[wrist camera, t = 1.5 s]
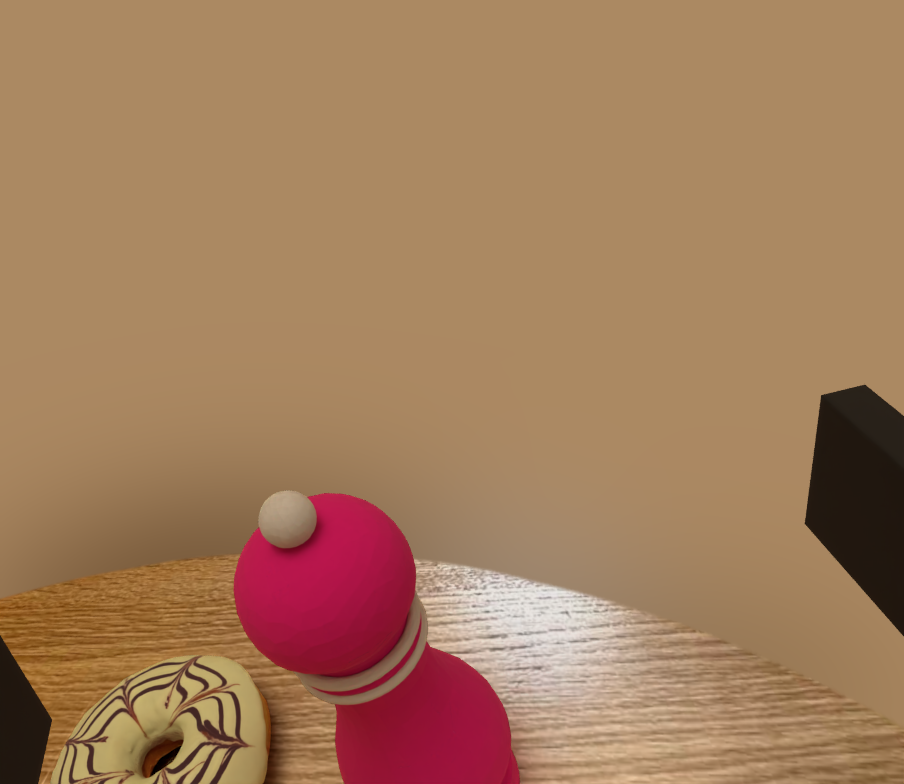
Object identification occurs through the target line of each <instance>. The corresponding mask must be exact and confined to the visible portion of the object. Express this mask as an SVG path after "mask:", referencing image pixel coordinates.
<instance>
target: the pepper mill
mask: <svg viewBox="0 0 904 784" xmlns="http://www.w3.org/2000/svg"><path fill="white" fill-rule="evenodd" d="M258 523H259V528H258V529H257V530H256V531H255V532H254V533H253V535H252V536H251V538H250V539H249V541H248V542H247V544H246V545H245V546H244V549H243V551H242V553H241V556H240V558H239V561H238V564H237V568H236V572H235V577H234V596H235V603H236V609H237V614H238V616H239V619H240V621H241V623H242V626H243V628H244V631H245V632H246V634H247V636H248V637H249V639H250V640H251V641H252V643H253V644H254V645H255V647H256V648H257V649H258V650H259V651H260V652H261V653H262V654H263V655H265V656H266V657H267V658H269V659H270V660H271V661H272V662H274V663H275V664H276V665H278V666H280V667H282V668H285V669H287V670H290V671H293V672H294V673H295V674H296V675H297V676H298V677H299V679H300V681H301V682H302V684H303V685H304V687H305V688H306V689H307V690H308V691H309V692H310V693H311V694H313V695H314V696H315V697H317V698H319V699H321V700H323V701H326V702H328V703H331V704H335V706H336V711H337V721H336V736H335V745H336V752H337V758H338V764H339V769H340V772H341V775H342V779H343V781H344V783H345V784H520V777H519V770H518V765H517V762H516V759H515V756H514V754H513V752H512V750H511V733H510V727H509V722H508V718H507V714H506V712H505V709H504V707H503V704H502V703H501V701H500V699H499V698H498V696H497V694H496V693H495V691H494V690H493V689H492V687H491V686H490V684H489V683H488V681H487V680H486V679H485V678H484V677H483V676H482V675H480V674H479V673H478V672H477V671H476V670H475V669H474V668H473V667H471V666H470V665H468V664H467V663H465V662H464V661H463V660H461V659H460V658H458V657H455V656H453V655H450V654H448V653H446V652H443V651H440V650H438V649H435V648H432V647H430V646H429V644H428V643H427V641H426V640H427V635H428V621H427V615H426V611H425V609H424V606H423V604H422V602H421V601H420V599H419V598H418V595H417V593H416V590H415V584H416V567H415V563H414V559H413V555H412V552H411V549H410V547H409V544H408V542H407V540H406V539H405V536H404V535H403V533H402V532H401V531H400V529H399V528H398V527H397V525H396V524H395V523H394V521H393V520H391V519H390V518H389V517H388V516H387V515H386V514H385V513H384V512H383V511H382V510H380V509H379V508H378V507H376V506H374V505H373V504H371V503H369V502H367V501H366V500H363V499H360V498H356V497H353V496H350V495H345V494H332V493H331V494H330V493H324V494H319V495H314V496H309V497H306V496H304V495H303V494H301V493H299V492H296V491H288V490H287V491H282V492H278V493H275V494H274V495H272V496H270V497H269V498H268V499H267V500H266V501H265V502H264V504H263V506H262V508H261V510H260V514H259V518H258Z"/></svg>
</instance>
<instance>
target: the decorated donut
mask: <svg viewBox="0 0 904 784" xmlns="http://www.w3.org/2000/svg"><path fill="white" fill-rule="evenodd" d="M270 741H271V720H270V713H269V708H268V705H267V701H266V699H265V698H264V697H263V696H262V694H261V692H260V690H259V689H258V688H257V687H256V685H255V684H254V683H253V681H252V679H251V677H250V674H249V673H248V672H247V671H246V670H245V669H244V667H243V666H242V665H240V664H239V663H237V662H236V661H234V660H230V659H228V658H226V657H221V656H202V655H189V656H181V657H175V658H171V659H167V660H164V661H161V662H159V663H156V664H154V665H152V666H149V667H147V668H145V669H144V670H142V671H139V672H137V673H135V674H133V675H131V676H129V677H127V678H126V679H124V680H123V681H121V682H120V683H119V684H118V685H117V686H116V687H115V688H113V689H112V690H111V691H110V692H108V693H107V694H106V695H105V696H104V697H103V698H102V699H101V700H100V701H99V702H97V703H96V704H95V705H94V706H93V707H92V708H91V709H89V710H88V711H87V712H86V713H85V714H84V716H83V717H82V719H81V721H80V722H79V723H78V724H77V726H76V727H75V729H74V731H73V733H72V734H71V736H70V738H69V739H68V741H67V742H66V744H65V746H64V748H63V750H62V751H61V754H60V756H59V759H58V762H57V765H56V767H55V769H54V771H53V773H52V778H51V782H50V784H263V782H264V780H265V776H266V772H267V761H268V755H269V751H270V749H269V747H270ZM179 746H182V747H181V749H180V751H179V753H178V754H177V756H176V758H175V760H174V761H173V762H172V763H171V764H169V765H167V766H166V767H164V768H163V769H161V770H160V771H158V772H157V773H156V774H154V775H153V776H151V773H152V771H153V768H154V767H155V765H156V763H157V762H158V761H159V759H160V758H161V757H164V756H165V755H166V754H167V753H169V752H170V751H172V750H174V749H175V748H177V747H179Z"/></svg>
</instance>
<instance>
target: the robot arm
mask: <svg viewBox="0 0 904 784" xmlns="http://www.w3.org/2000/svg"><path fill="white" fill-rule="evenodd" d="M805 524H806V526H807V527H808V528H809V529H810V530H811V531H812V532H813V534H814V535H815V536H816V537H817V538H818V539H819V540H820V541H821V543H822V544H823V545H824V546H825V547H826V548H827V550H828V551H829V552H830V553H831V554H832V555H833V556H834V557H835V558H836V560H837V561H838V562H839V563H840V564H841V565H842V567H843V568H844V569H845V570H846V571H847V572H848V573H849V575H850V576H851V577H852V578H853V579H854V580H855V581H856V583H858V585H859V586H860V587H861V588H862V589H863V590H864V592H865V593H866V594H867V595H868V596H869V597H870V598H871V600H872V601H873V602H874V603H875V604H876V605H877V606H878V607H879V609H880V610H881V611H882V612H883V613H884V614H885V616H886V617H887V618H888V619H889V620H890V621H891V622H892V624H893V625H894V626H895V627H896V628H897V629H898V630H899V631H900V633H901V634H902V635H903V636H904V416H903V415H901V413H899V412H898V411H897V410H896V409H894V408H893V407H892V406H891V405H889V404H888V403H887V402H886V401H884V400H883V399H882V398H881V397H879V396H878V395H877V394H876V393H875V392H873V391H872V390H871V389H870V388H868V387H867V386H866V385H862V386H857V387H854V388H849V389H845V390H841V391H837V392H833V393H829V394H824V395H821V402H820V409H819V417H818V425H817V433H816V441H815V448H814V456H813V464H812V472H811V480H810V488H809V496H808V504H807V511H806V518H805ZM51 722H52V719H51V717H50V716H49V714H48V712H47V711H46V709H45V707H44V706H43V704H42V703H41V701H40V699H39V698H38V696H37V694H36V693H35V691H34V690H33V688H32V686H31V685H30V683H29V682H28V680H27V678H26V677H25V675H24V673H23V672H22V670H21V669H20V667H19V665H18V664H17V662H16V660H15V659H14V657H13V656H12V654H11V652H10V651H9V649H8V647H7V646H6V644H5V643H4V641H3V639H2V638H1V636H0V784H38V782H39V777H40V773H41V768H42V764H43V759H44V754H45V750H46V745H47V741H48V736H49V731H50V727H51Z"/></svg>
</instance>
